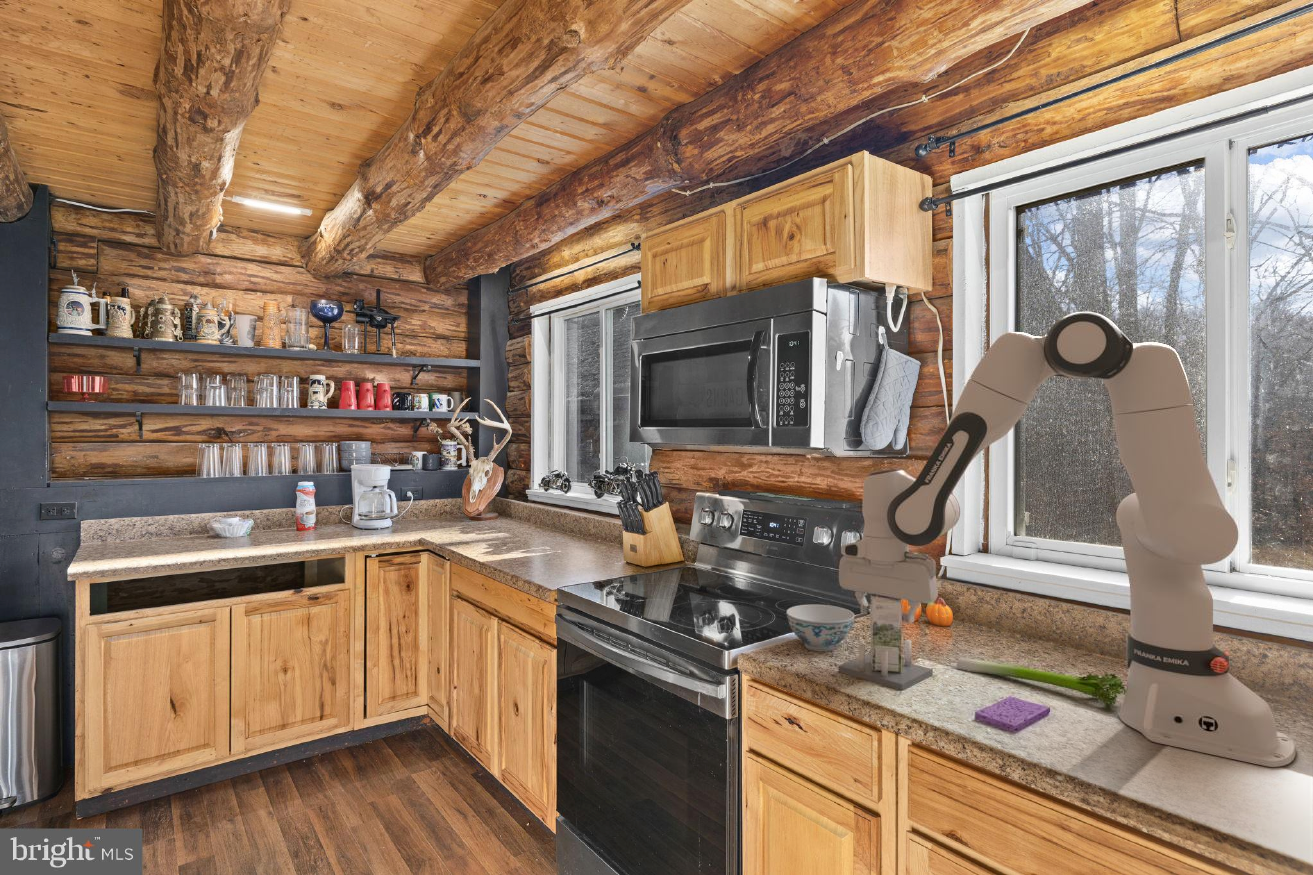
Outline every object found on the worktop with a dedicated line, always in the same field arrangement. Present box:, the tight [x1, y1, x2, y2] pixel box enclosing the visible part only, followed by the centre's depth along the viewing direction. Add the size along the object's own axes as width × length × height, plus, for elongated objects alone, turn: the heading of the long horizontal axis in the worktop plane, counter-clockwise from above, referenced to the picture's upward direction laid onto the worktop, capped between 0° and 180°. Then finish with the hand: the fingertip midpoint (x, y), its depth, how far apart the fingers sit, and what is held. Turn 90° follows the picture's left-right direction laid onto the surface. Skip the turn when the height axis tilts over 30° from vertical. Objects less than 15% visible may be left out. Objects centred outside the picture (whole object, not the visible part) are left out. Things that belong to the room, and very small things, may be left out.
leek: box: [956, 657, 1126, 709], centre depth 134 cm, size 6×7×30 cm
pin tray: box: [837, 639, 934, 691], centre depth 141 cm, size 14×12×6 cm
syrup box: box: [870, 594, 903, 673], centre depth 141 cm, size 6×6×14 cm
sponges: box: [974, 695, 1051, 734], centre depth 120 cm, size 7×13×2 cm, turn 127°
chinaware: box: [786, 604, 855, 652], centre depth 159 cm, size 15×15×8 cm
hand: (886, 617), depth 141 cm, fingers open, 8 cm apart
